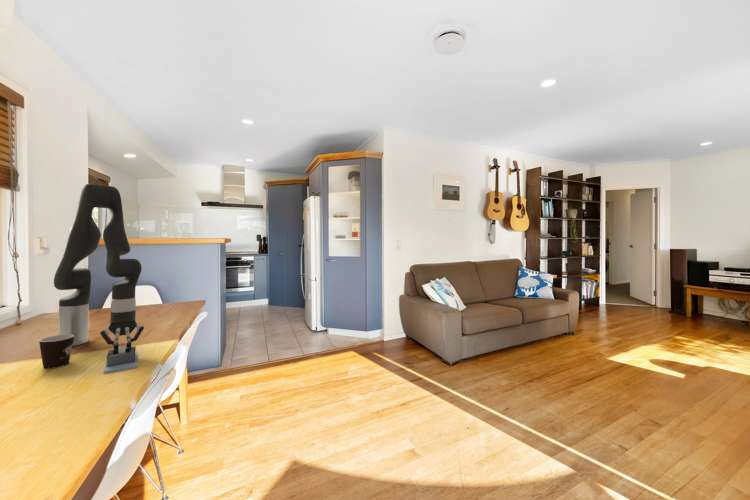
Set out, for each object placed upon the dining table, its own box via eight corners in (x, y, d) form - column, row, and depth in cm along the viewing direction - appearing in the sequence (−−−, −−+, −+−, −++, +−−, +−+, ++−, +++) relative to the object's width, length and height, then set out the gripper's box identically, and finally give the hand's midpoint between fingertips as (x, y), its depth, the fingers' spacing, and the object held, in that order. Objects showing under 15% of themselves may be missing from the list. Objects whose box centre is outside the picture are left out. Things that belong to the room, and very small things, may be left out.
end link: (109, 353, 116) (109, 345, 116) (135, 349, 121) (135, 341, 121) (106, 366, 106) (106, 357, 105) (135, 361, 111) (135, 352, 110)
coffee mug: (50, 371, 102) (50, 342, 102) (31, 368, 104) (32, 340, 104) (88, 358, 114) (89, 333, 114) (71, 356, 115) (72, 331, 115)
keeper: (107, 358, 114) (107, 339, 114) (137, 354, 120) (137, 335, 120) (103, 373, 102) (103, 351, 102) (136, 367, 107) (137, 346, 107)
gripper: (145, 306, 123) (144, 347, 123) (100, 309, 114) (99, 353, 114) (146, 309, 117) (144, 352, 117) (98, 313, 108) (97, 360, 108)
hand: (122, 352), depth 116 cm, fingers closed on end link, 2 cm apart
